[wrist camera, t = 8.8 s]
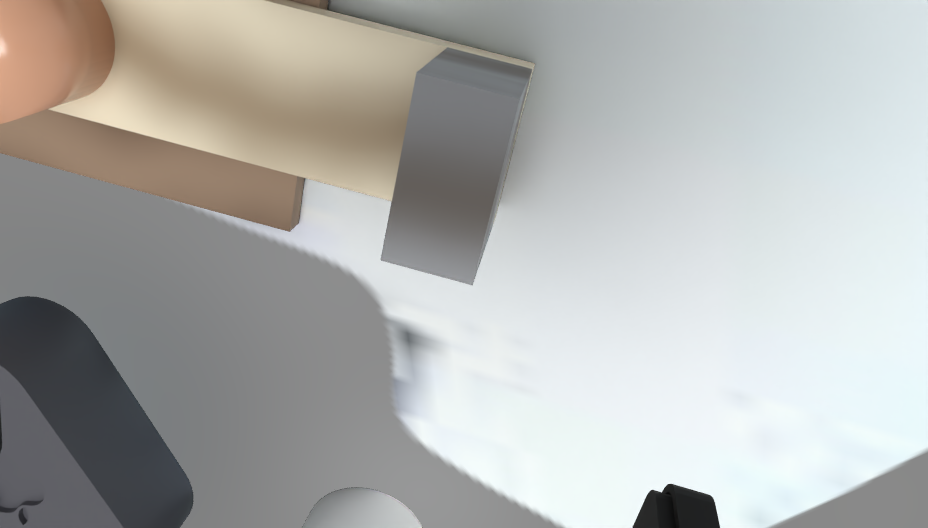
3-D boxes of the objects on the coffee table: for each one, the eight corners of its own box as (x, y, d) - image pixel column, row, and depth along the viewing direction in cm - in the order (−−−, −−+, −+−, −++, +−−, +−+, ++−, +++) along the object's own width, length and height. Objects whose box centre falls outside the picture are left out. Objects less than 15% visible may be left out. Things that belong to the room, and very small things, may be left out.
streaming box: (63, 277, 35) (-18, 330, 31) (217, 511, 40) (167, 588, 35) (-144, 360, 40) (-243, 418, 35) (16, 563, 44) (-52, 638, 39)
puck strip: (-44, -85, 28) (-205, -88, 22) (534, 63, 27) (519, 98, 21) (-34, 75, 30) (-175, 109, 25) (495, 217, 29) (472, 285, 24)
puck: (-16, -57, 27) (-111, -55, 23) (116, -23, 27) (41, -15, 23) (-9, 81, 29) (-95, 103, 25) (113, 114, 29) (44, 140, 25)
